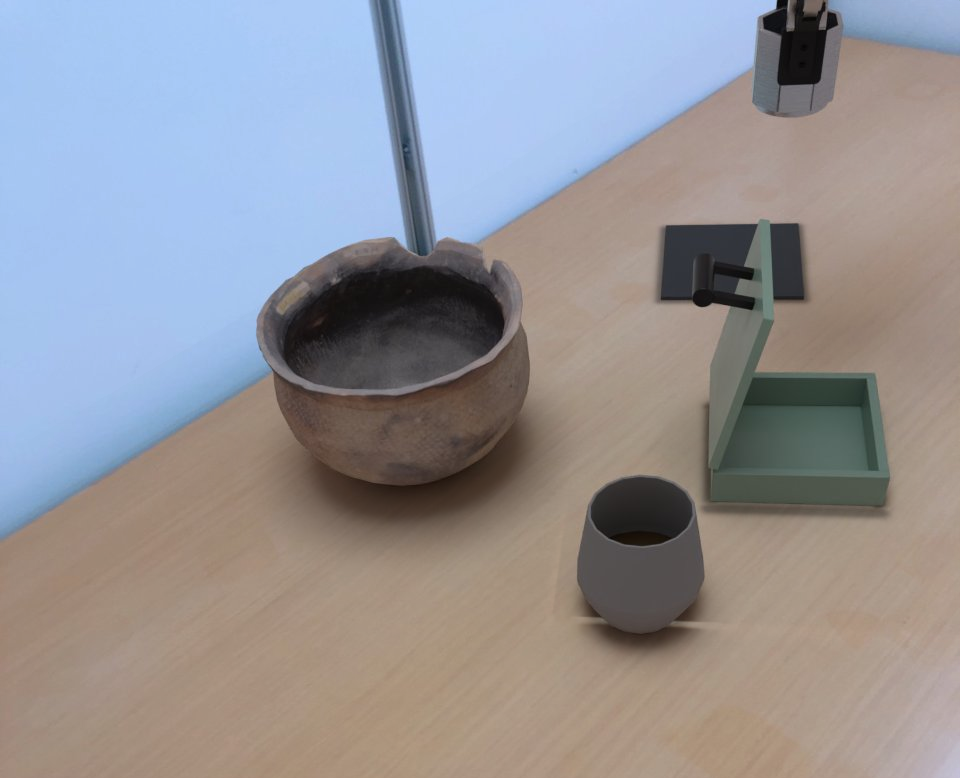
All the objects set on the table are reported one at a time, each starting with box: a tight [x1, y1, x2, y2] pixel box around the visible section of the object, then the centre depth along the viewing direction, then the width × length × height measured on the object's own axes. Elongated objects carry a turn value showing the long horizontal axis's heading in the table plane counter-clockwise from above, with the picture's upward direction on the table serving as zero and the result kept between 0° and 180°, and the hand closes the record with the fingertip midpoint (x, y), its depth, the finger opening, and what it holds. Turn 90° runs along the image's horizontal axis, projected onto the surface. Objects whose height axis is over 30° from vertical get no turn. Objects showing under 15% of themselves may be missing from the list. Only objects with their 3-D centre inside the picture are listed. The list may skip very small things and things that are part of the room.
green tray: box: [709, 371, 891, 507], centre depth 93 cm, size 14×14×4 cm
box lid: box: [691, 218, 775, 470], centre depth 87 cm, size 14×14×5 cm
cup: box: [576, 474, 706, 635], centre depth 81 cm, size 10×9×10 cm
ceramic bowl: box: [255, 236, 531, 486], centre depth 94 cm, size 22×22×15 cm
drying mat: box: [660, 222, 805, 301], centre depth 114 cm, size 14×14×1 cm
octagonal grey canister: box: [750, 6, 845, 119], centre depth 86 cm, size 6×6×6 cm
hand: (795, 61), depth 86 cm, fingers closed on octagonal grey canister, 6 cm apart
